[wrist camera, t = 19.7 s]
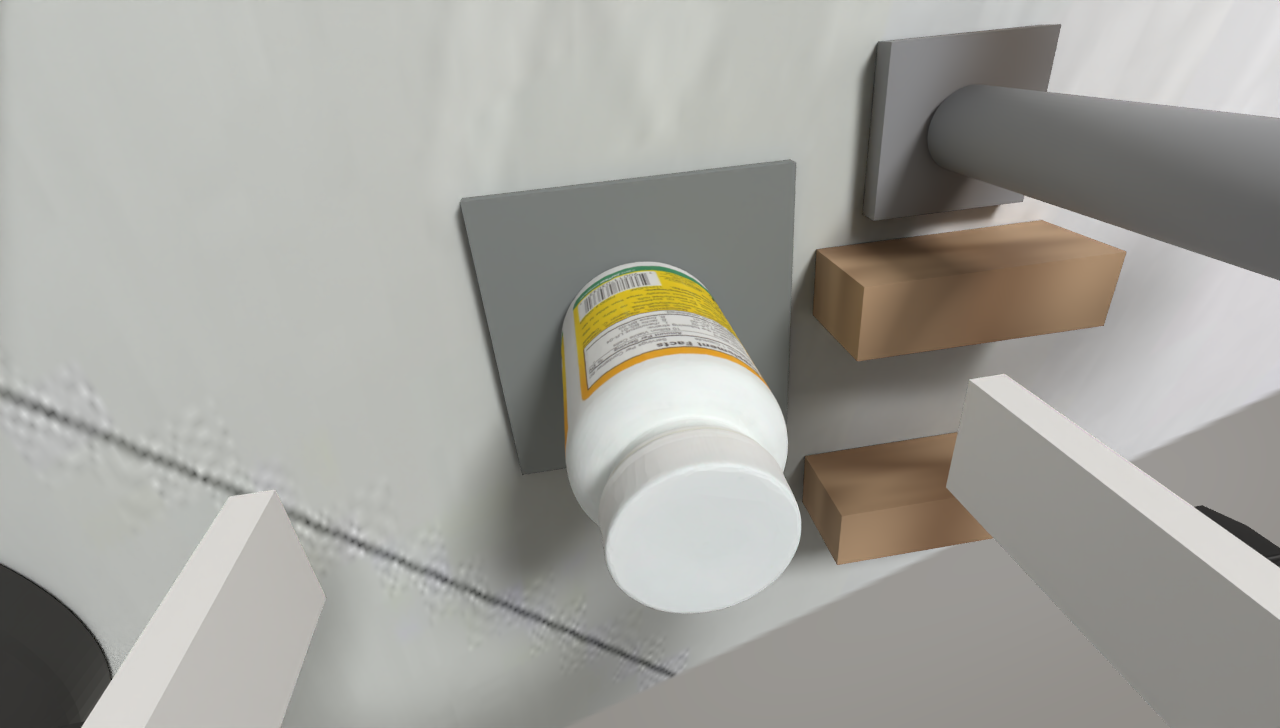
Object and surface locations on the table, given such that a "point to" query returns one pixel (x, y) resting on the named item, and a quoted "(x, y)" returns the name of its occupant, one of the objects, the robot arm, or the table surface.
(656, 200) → the mat
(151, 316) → the table surface
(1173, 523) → the robot arm
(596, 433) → the supplement bottle
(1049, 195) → the grey orange l-shaped piece
